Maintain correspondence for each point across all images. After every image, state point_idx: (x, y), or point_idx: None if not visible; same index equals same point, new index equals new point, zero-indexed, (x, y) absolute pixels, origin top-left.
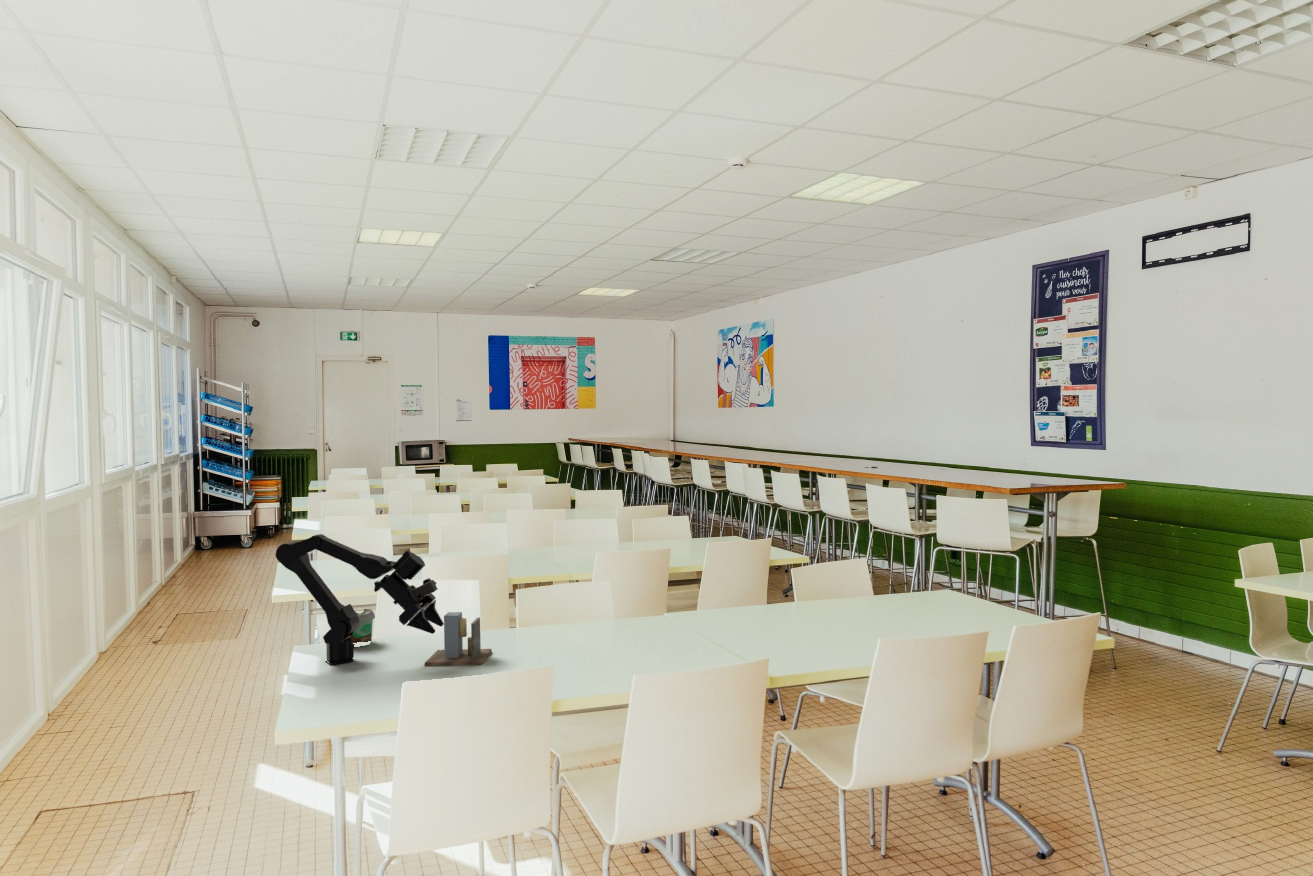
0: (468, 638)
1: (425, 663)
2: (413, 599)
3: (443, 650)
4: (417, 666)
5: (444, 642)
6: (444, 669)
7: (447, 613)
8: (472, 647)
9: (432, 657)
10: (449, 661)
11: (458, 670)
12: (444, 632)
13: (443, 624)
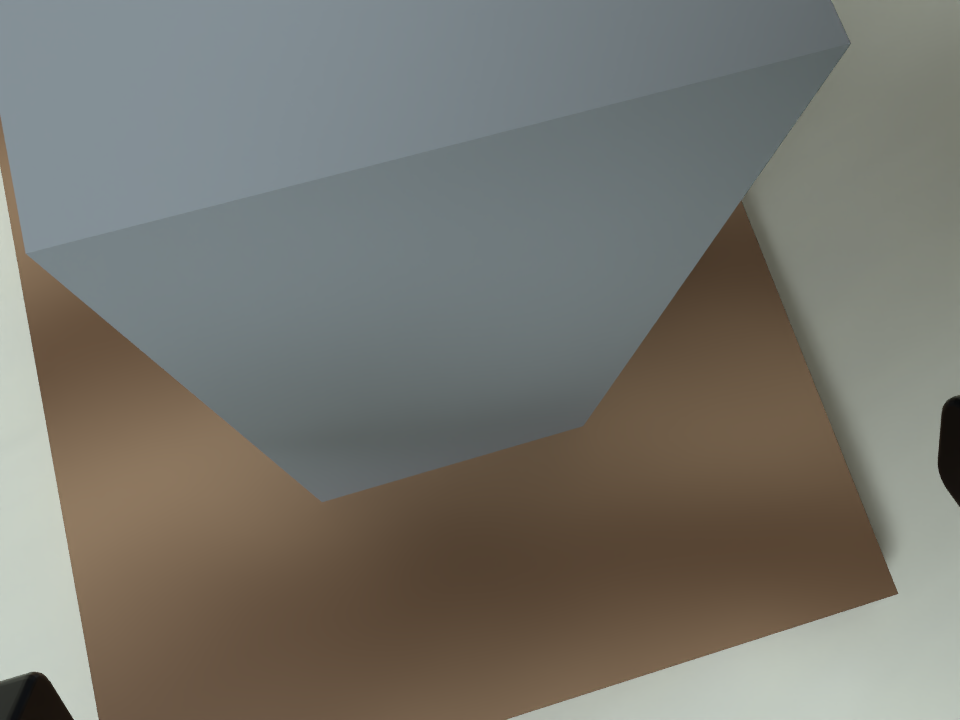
0: None
1: (888, 579)
2: None
3: (148, 706)
4: (915, 701)
5: (625, 363)
6: (915, 239)
7: (309, 148)
8: None
9: (603, 639)
10: (737, 258)
11: (895, 58)
12: (672, 290)
13: (24, 680)
